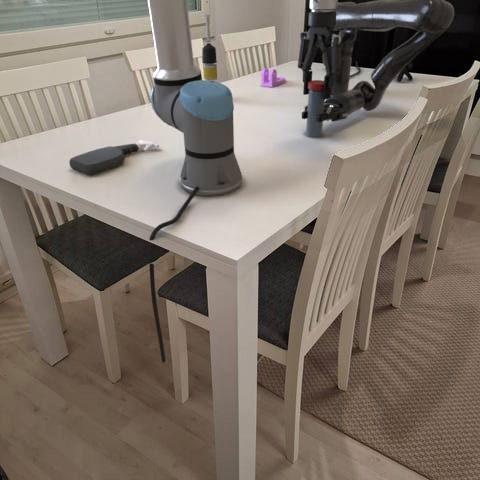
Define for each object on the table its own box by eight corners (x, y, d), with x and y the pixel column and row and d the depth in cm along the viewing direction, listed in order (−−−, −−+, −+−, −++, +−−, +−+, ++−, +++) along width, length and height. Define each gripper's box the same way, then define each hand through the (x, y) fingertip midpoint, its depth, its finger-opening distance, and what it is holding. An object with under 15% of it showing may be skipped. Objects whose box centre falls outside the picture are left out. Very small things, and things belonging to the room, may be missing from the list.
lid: (312, 90, 130) (312, 84, 129) (305, 86, 134) (305, 80, 133) (329, 89, 131) (329, 83, 130) (322, 85, 135) (322, 79, 134)
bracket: (271, 87, 193) (272, 70, 189) (261, 85, 196) (261, 68, 192) (287, 81, 202) (288, 65, 198) (277, 79, 205) (277, 63, 201)
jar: (303, 133, 141) (306, 83, 133) (317, 131, 142) (321, 82, 134) (310, 138, 137) (313, 87, 129) (324, 136, 138) (328, 85, 130)
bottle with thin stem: (220, 99, 177) (217, 15, 161) (206, 100, 176) (202, 16, 160) (215, 96, 182) (212, 14, 166) (202, 97, 180) (197, 14, 164)
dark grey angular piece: (400, 92, 202) (376, 71, 205) (417, 76, 202) (392, 56, 205) (405, 81, 191) (380, 59, 194) (423, 64, 191) (397, 42, 194)
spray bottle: (67, 168, 120) (139, 144, 136) (91, 178, 114) (163, 151, 130) (65, 157, 118) (137, 134, 134) (89, 167, 112) (162, 142, 128)
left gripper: (287, 9, 126) (284, 92, 138) (343, 13, 113) (334, 105, 125) (305, 7, 130) (300, 88, 142) (361, 11, 117) (351, 100, 129)
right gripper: (323, 90, 148) (291, 101, 137) (361, 97, 139) (331, 109, 129) (321, 113, 152) (290, 125, 141) (358, 121, 143) (329, 134, 133)
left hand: (316, 96), depth 134 cm, fingers open, 7 cm apart
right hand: (310, 117), depth 135 cm, fingers closed on jar, 5 cm apart
